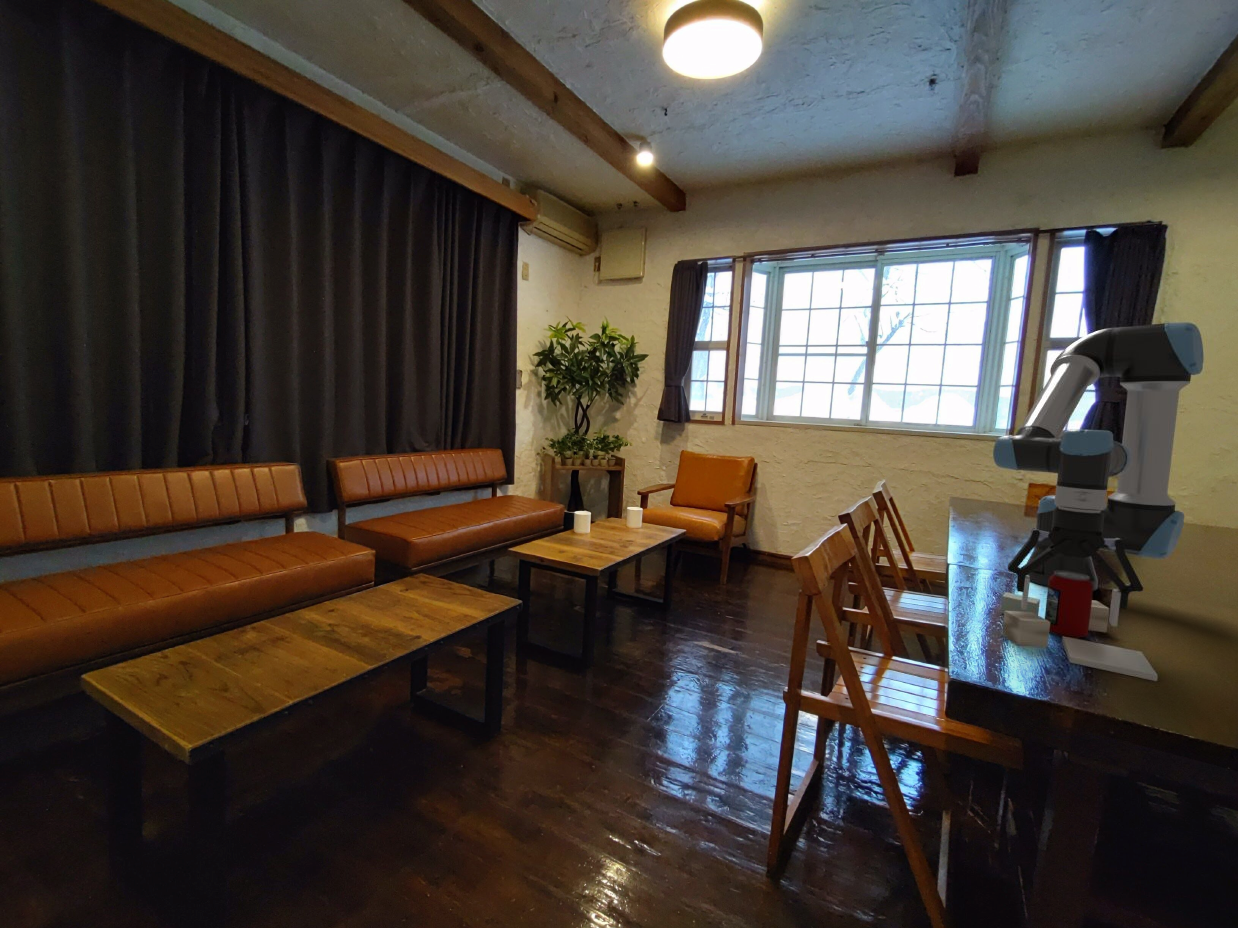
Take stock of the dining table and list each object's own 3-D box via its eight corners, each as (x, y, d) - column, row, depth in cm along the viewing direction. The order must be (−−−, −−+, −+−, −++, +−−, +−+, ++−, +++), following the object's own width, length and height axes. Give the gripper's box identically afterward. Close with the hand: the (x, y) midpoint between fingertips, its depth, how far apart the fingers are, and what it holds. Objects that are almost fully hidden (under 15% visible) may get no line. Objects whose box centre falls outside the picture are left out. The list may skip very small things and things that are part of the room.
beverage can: (1046, 624, 112) (1052, 567, 111) (1089, 634, 107) (1096, 575, 106) (1040, 632, 107) (1047, 573, 106) (1085, 643, 102) (1092, 581, 101)
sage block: (1004, 609, 120) (1006, 592, 120) (1038, 617, 116) (1039, 599, 116) (1000, 613, 117) (1002, 596, 117) (1035, 622, 113) (1037, 603, 113)
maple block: (1002, 635, 105) (1004, 610, 105) (1029, 637, 105) (1031, 612, 104) (1019, 646, 100) (1021, 620, 100) (1047, 647, 100) (1050, 621, 100)
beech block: (1064, 620, 115) (1067, 597, 114) (1093, 623, 113) (1096, 600, 113) (1076, 628, 110) (1078, 604, 109) (1106, 632, 108) (1109, 608, 108)
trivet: (1061, 641, 103) (1062, 636, 103) (1140, 657, 97) (1141, 651, 97) (1069, 662, 94) (1070, 656, 94) (1157, 681, 88) (1157, 675, 88)
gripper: (1000, 503, 108) (990, 606, 110) (1174, 520, 95) (1159, 637, 97) (999, 499, 115) (990, 596, 117) (1162, 515, 101) (1148, 625, 103)
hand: (1066, 615), depth 107 cm, fingers open, 13 cm apart
